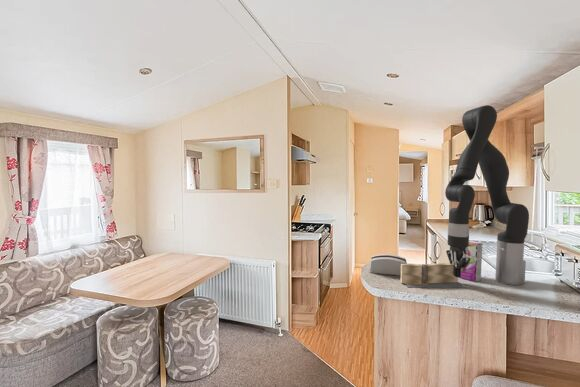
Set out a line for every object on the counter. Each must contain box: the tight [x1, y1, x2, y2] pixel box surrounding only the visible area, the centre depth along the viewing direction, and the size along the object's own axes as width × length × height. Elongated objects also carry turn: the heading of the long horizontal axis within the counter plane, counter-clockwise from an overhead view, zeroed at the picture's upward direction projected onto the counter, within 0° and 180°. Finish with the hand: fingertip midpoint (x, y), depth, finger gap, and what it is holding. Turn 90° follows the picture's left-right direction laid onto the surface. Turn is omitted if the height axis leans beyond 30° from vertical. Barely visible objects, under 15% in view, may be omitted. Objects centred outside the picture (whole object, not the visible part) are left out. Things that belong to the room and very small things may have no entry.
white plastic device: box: [369, 253, 408, 276], centre depth 139 cm, size 17×5×10 cm, turn 69°
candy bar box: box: [458, 240, 483, 283], centre depth 134 cm, size 11×5×16 cm, turn 34°
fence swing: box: [425, 262, 459, 283], centre depth 127 cm, size 13×2×8 cm, turn 95°
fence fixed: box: [400, 263, 427, 284], centre depth 127 cm, size 10×2×8 cm, turn 88°
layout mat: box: [396, 275, 467, 289], centre depth 133 cm, size 23×20×1 cm
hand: (456, 276), depth 124 cm, fingers closed
